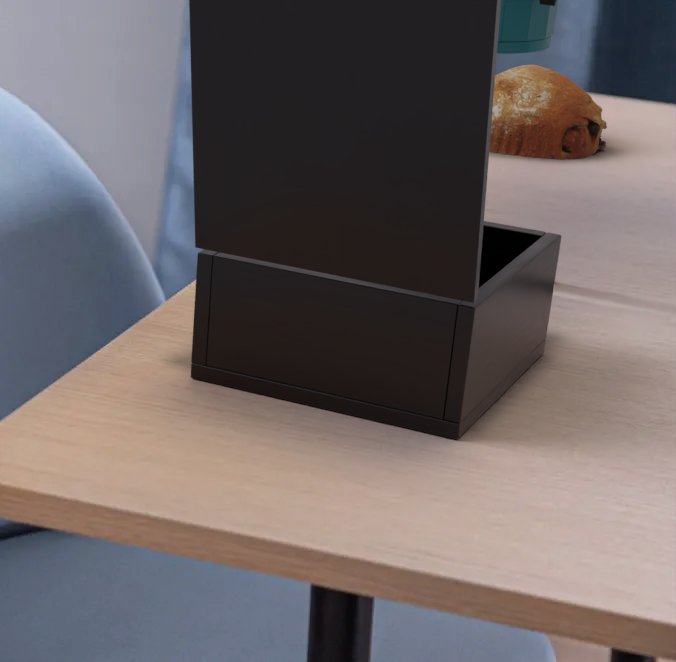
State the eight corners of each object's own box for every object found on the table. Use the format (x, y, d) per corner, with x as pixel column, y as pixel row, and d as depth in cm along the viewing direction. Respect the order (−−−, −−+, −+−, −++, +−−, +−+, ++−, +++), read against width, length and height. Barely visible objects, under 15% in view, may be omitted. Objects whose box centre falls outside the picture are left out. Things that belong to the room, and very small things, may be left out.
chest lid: (193, -62, 75) (187, -57, 74) (503, -25, 69) (498, -20, 69) (200, 242, 83) (194, 247, 82) (478, 297, 77) (473, 303, 77)
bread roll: (503, 179, 136) (473, 78, 134) (631, 141, 130) (601, 35, 128) (457, 207, 128) (424, 100, 127) (590, 168, 122) (558, 56, 121)
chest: (301, 303, 96) (311, 189, 94) (544, 353, 91) (562, 234, 88) (189, 378, 85) (197, 252, 83) (457, 440, 80) (474, 308, 77)
